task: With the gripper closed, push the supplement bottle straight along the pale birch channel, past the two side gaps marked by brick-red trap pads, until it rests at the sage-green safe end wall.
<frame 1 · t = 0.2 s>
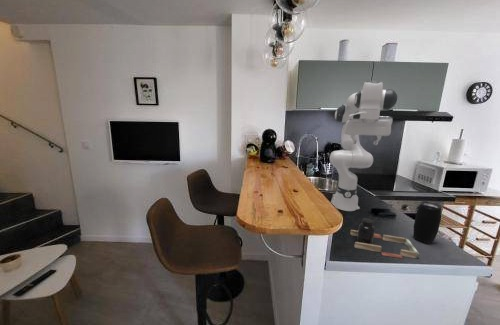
hand: (364, 144, 104), 47 cm above the countertop, tool pointing down, fingers open, 8 cm apart
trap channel: (379, 244, 102), on the countertop
portable speaker: (422, 240, 107), on the countertop
supplement bottle: (364, 242, 104), on the countertop
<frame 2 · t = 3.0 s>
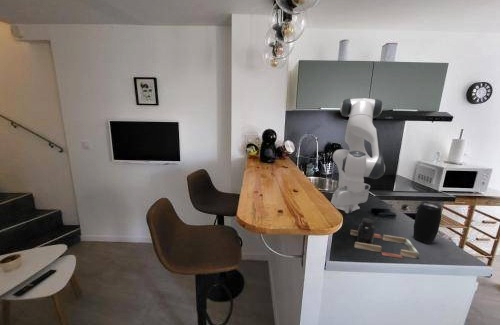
hand: (348, 212, 102), 15 cm above the countertop, tool pointing down, fingers closed
nothing on the countertop moved.
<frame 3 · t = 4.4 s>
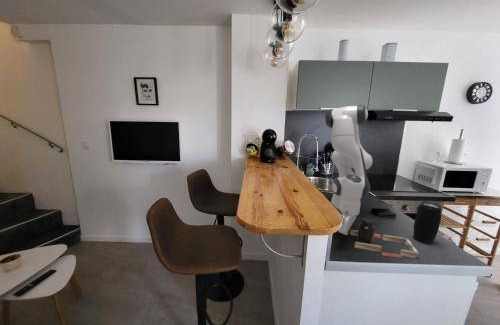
hand: (346, 233, 105), 3 cm above the countertop, tool pointing down, fingers closed
nothing on the countertop moved.
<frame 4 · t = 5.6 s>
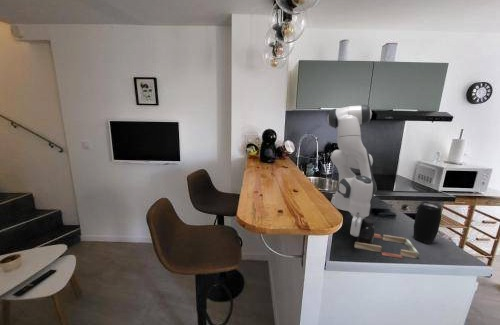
hand: (355, 235, 104), 3 cm above the countertop, tool pointing down, fingers closed
supplement bottle: (364, 242, 104), on the countertop, touching gripper
everything else where it was.
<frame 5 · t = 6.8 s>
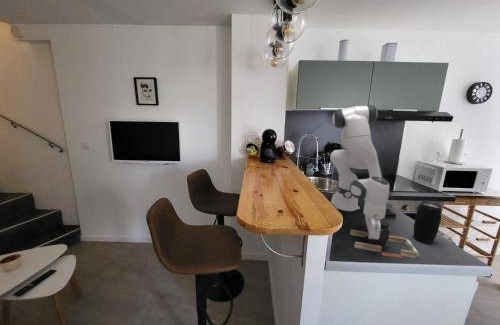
hand: (369, 237, 102), 3 cm above the countertop, tool pointing down, fingers closed, pressing on supplement bottle
supplement bottle: (377, 245, 102), on the countertop, touching gripper
everything else where it was.
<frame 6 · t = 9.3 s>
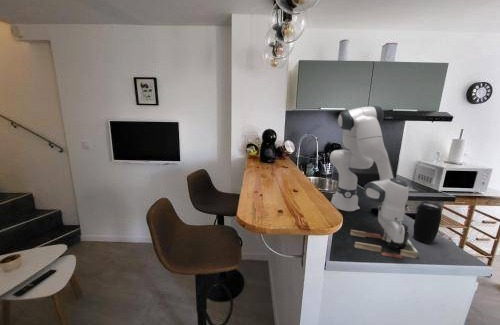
hand: (387, 240, 100), 3 cm above the countertop, tool pointing down, fingers closed, pressing on supplement bottle
supplement bottle: (395, 248, 100), on the countertop, touching gripper
everything else where it was.
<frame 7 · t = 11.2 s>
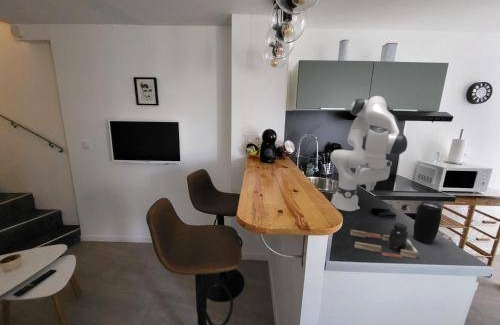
hand: (369, 190, 101), 26 cm above the countertop, tool pointing down, fingers closed
supplement bottle: (395, 248, 100), on the countertop
everything else where it was.
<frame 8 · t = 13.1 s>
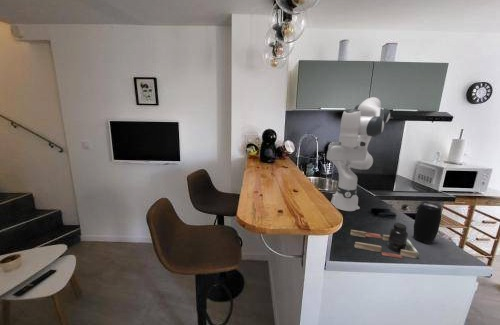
hand: (344, 168, 108), 34 cm above the countertop, tool pointing down, fingers closed
nothing on the countertop moved.
at the end: supplement bottle 2.1 cm from the target spot, on the countertop; supplement bottle tilted 1°; supplement bottle moved 13.4 cm from its start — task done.
